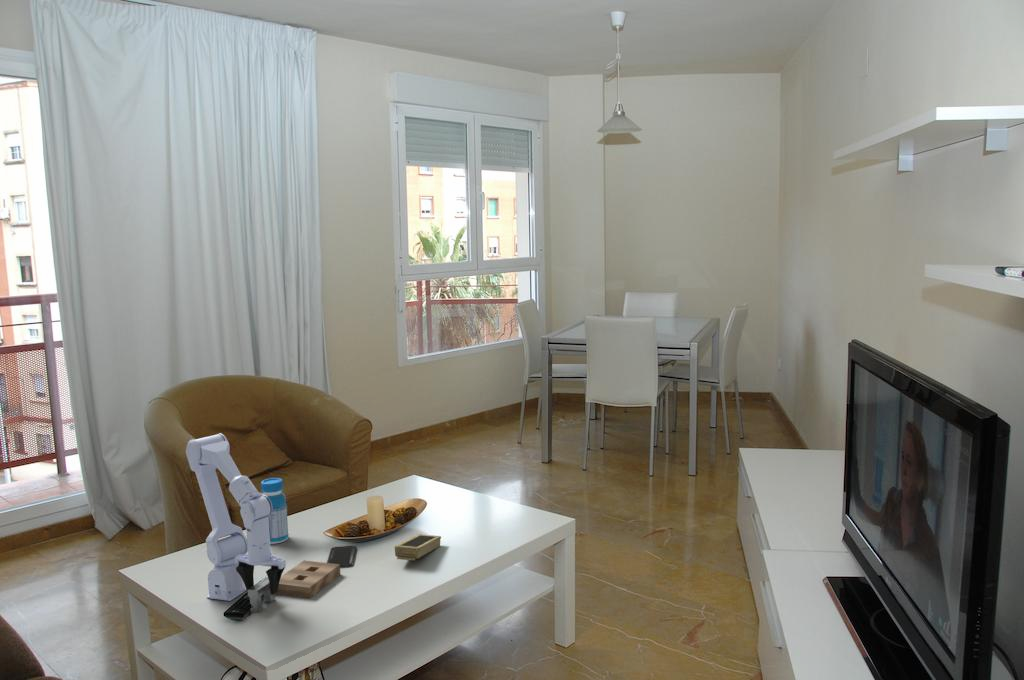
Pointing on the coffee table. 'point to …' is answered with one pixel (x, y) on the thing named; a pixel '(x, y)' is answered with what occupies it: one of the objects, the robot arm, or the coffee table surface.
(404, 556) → the box
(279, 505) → the beverage bottle
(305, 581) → the wooden board with holes
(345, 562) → the phone
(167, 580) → the coffee table surface
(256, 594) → the metal staple
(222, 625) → the coffee table surface
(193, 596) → the coffee table surface
